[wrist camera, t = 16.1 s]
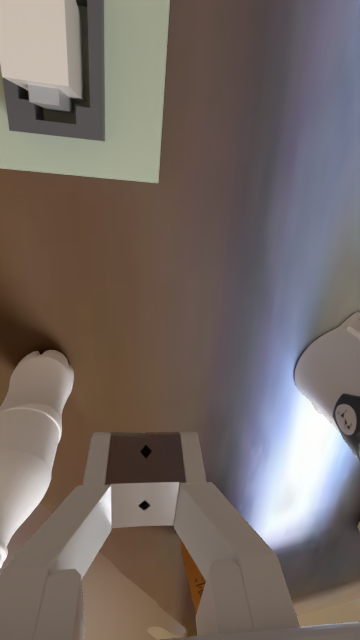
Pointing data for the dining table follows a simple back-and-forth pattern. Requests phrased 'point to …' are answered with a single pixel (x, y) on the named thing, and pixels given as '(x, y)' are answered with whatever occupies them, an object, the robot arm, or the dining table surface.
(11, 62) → the keyed plug
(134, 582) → the dining table surface
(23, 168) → the socket board
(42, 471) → the water bottle
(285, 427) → the dining table surface
